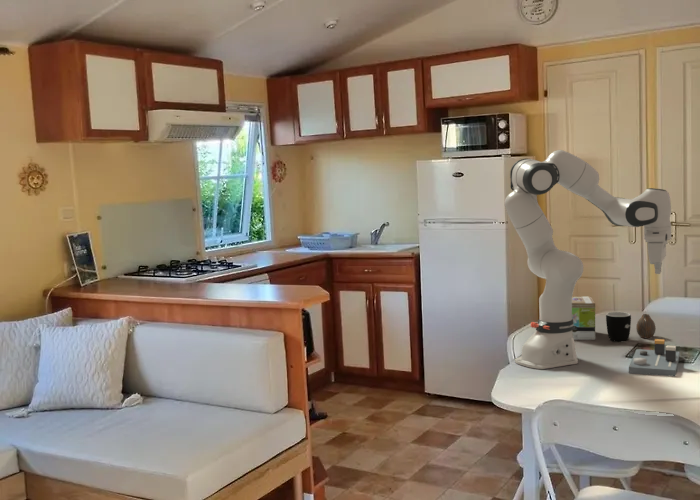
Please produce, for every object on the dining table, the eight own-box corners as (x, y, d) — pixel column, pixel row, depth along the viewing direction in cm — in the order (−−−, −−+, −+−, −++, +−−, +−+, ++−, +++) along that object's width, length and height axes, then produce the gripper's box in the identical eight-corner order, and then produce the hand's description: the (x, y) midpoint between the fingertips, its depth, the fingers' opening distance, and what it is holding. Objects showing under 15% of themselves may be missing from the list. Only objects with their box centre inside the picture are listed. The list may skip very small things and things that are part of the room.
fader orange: (664, 354, 259) (664, 341, 258) (654, 353, 260) (654, 340, 260) (664, 352, 261) (664, 339, 261) (655, 351, 262) (655, 339, 262)
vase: (658, 338, 290) (658, 316, 289) (640, 339, 290) (640, 316, 289) (651, 334, 297) (651, 312, 296) (633, 335, 297) (633, 313, 296)
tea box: (596, 340, 292) (595, 302, 291) (569, 340, 294) (568, 302, 293) (591, 331, 307) (591, 295, 305) (566, 331, 309) (565, 295, 307)
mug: (626, 344, 284) (626, 317, 283) (603, 341, 290) (602, 315, 289) (636, 337, 294) (636, 311, 293) (613, 334, 299) (613, 309, 298)
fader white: (675, 361, 250) (675, 347, 249) (665, 360, 251) (665, 347, 251) (675, 359, 252) (675, 345, 252) (666, 358, 254) (666, 345, 253)
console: (675, 376, 241) (675, 365, 241) (628, 373, 248) (628, 362, 247) (679, 357, 263) (679, 347, 262) (636, 354, 269) (636, 345, 269)
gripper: (651, 231, 277) (651, 268, 278) (644, 237, 259) (645, 277, 260) (670, 230, 274) (670, 268, 275) (664, 237, 256) (665, 278, 257)
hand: (658, 273), depth 268 cm, fingers closed
